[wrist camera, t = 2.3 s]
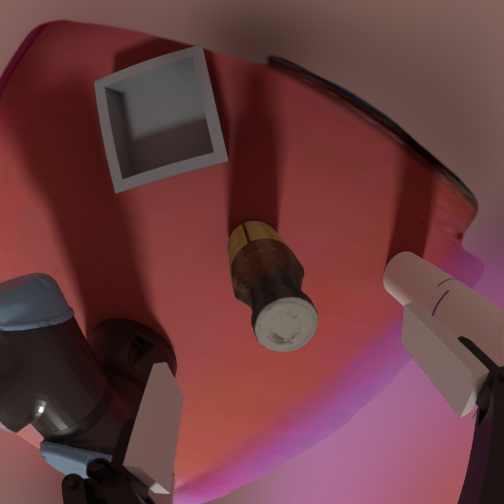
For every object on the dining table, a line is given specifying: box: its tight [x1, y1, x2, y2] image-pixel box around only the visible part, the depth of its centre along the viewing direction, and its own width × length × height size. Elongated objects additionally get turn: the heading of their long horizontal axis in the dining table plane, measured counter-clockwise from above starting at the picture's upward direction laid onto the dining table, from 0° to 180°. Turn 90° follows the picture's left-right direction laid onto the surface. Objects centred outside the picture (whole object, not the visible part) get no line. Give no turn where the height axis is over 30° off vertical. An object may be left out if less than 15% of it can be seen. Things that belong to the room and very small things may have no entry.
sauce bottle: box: [228, 220, 319, 351], centre depth 26 cm, size 6×6×20 cm
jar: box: [148, 476, 175, 504], centre depth 43 cm, size 10×10×18 cm
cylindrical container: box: [383, 251, 504, 367], centre depth 26 cm, size 7×7×25 cm
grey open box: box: [94, 45, 229, 194], centre depth 27 cm, size 12×13×6 cm
